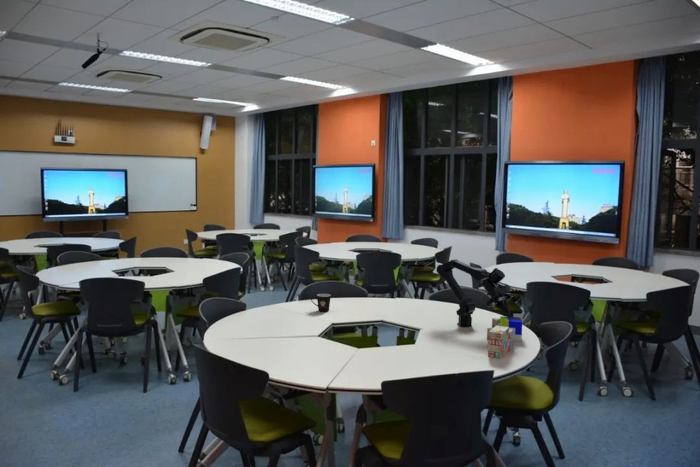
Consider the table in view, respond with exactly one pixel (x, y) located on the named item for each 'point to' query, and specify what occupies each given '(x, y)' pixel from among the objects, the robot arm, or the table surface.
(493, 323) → the numbered block 1
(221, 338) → the table surface
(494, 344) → the stack of blocks
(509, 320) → the puzzle toy
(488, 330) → the numbered block 2
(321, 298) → the coffee mug
